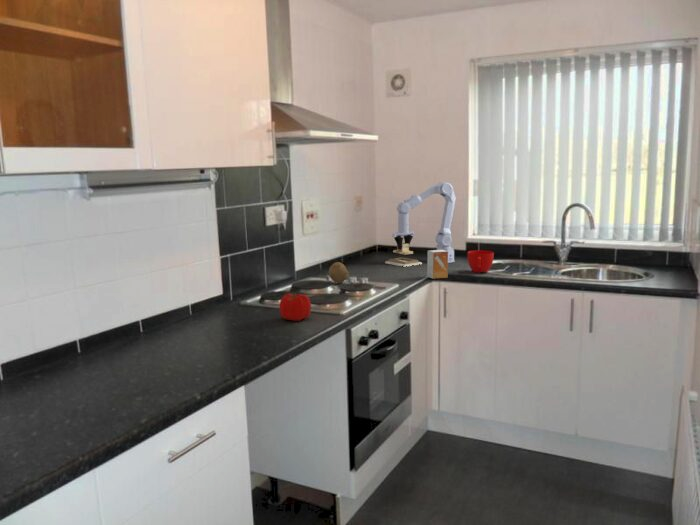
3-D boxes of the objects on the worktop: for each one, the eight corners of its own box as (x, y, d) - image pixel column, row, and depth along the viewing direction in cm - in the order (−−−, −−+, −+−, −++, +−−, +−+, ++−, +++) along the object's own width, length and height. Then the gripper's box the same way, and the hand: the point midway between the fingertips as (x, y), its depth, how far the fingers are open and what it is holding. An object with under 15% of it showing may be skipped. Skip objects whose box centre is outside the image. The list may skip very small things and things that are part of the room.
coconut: (325, 282, 271) (324, 261, 269) (342, 280, 275) (341, 259, 273) (333, 285, 263) (333, 264, 261) (351, 283, 267) (350, 262, 265)
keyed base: (422, 264, 317) (422, 260, 316) (404, 266, 309) (404, 262, 309) (402, 260, 329) (402, 256, 329) (385, 263, 322) (385, 259, 321)
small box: (433, 279, 275) (433, 252, 273) (426, 276, 281) (427, 250, 279) (448, 277, 278) (448, 251, 276) (441, 275, 284) (442, 249, 282)
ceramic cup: (465, 275, 284) (465, 255, 282) (468, 269, 300) (468, 250, 298) (492, 276, 280) (492, 255, 279) (493, 270, 296) (494, 250, 295)
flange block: (393, 252, 321) (393, 243, 320) (401, 251, 324) (401, 242, 323) (404, 254, 313) (404, 245, 312) (413, 253, 316) (413, 244, 315)
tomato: (317, 318, 207) (317, 293, 206) (293, 325, 199) (292, 299, 197) (297, 313, 214) (296, 289, 213) (272, 320, 206) (271, 295, 204)
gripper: (408, 223, 323) (408, 247, 325) (388, 224, 315) (388, 249, 317) (416, 224, 318) (416, 248, 320) (397, 225, 309) (397, 250, 311)
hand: (403, 249), depth 318 cm, fingers closed on flange block, 5 cm apart
